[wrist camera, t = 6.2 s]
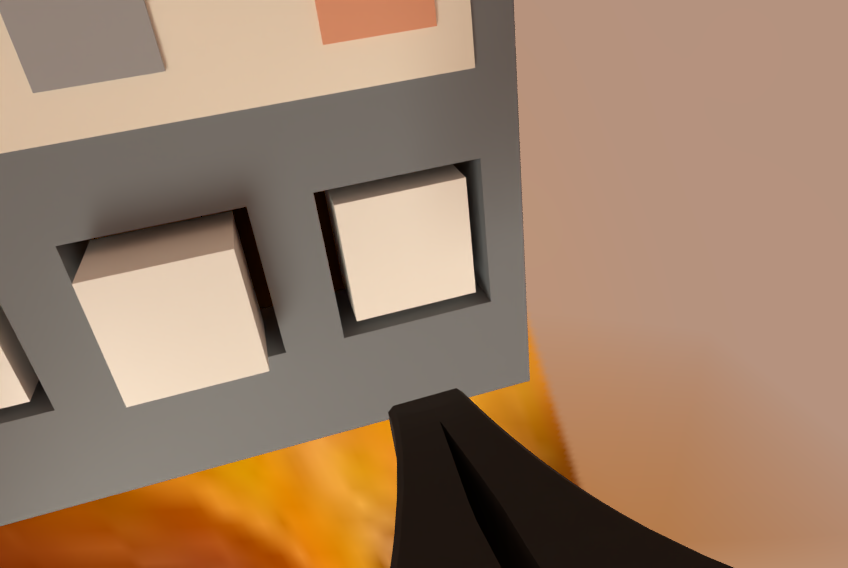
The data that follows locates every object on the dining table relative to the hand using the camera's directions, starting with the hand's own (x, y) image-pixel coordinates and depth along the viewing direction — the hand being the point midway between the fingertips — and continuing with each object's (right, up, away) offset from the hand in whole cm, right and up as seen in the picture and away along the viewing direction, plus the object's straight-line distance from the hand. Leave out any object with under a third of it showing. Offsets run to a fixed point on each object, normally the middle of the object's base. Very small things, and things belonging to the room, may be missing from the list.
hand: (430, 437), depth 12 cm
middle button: (-6, +3, +4) cm, 8 cm away
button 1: (-1, +5, +6) cm, 7 cm away
